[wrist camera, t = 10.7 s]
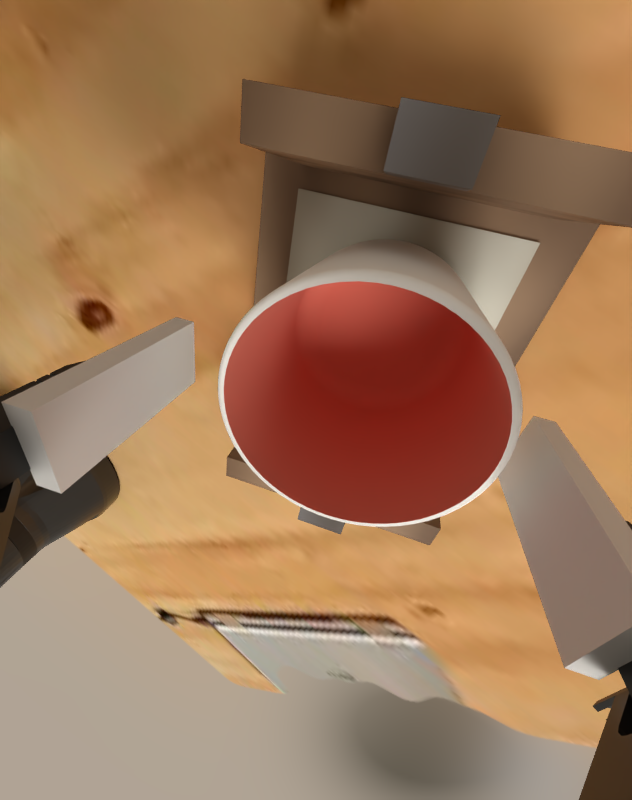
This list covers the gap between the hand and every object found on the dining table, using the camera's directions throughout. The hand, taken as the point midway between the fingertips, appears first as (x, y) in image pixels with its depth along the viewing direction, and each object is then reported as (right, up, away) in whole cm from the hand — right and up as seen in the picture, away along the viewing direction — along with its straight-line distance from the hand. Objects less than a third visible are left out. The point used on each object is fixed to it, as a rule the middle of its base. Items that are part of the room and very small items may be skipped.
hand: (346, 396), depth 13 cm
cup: (+3, +4, +7) cm, 8 cm away
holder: (+3, +5, +8) cm, 10 cm away
